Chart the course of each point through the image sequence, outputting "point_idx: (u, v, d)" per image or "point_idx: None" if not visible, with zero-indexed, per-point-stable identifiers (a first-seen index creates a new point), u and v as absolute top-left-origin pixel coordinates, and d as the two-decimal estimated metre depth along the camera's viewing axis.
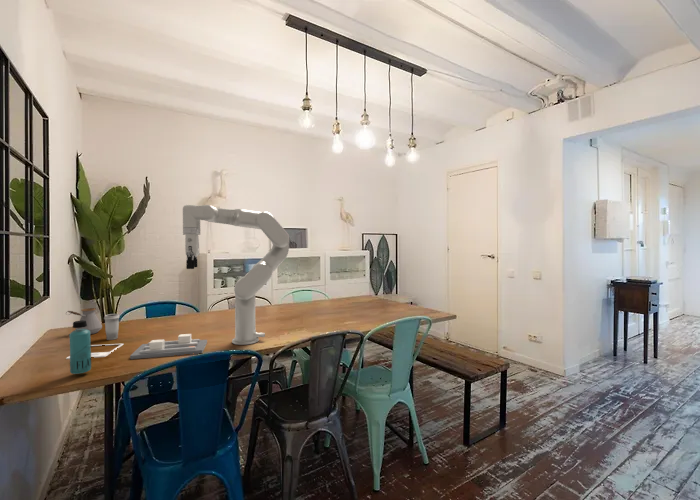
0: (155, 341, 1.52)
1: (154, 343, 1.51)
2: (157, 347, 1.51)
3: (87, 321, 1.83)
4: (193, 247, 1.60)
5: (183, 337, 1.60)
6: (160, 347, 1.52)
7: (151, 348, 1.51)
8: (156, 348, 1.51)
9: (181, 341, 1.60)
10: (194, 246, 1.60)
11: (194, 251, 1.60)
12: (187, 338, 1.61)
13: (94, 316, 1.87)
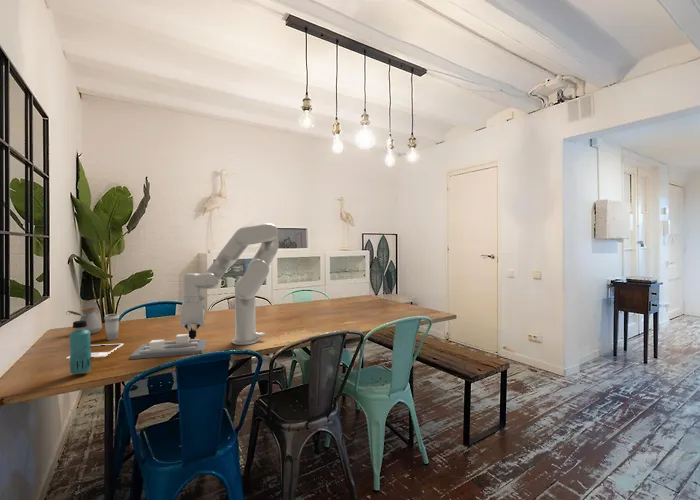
0: (155, 341, 1.52)
1: (154, 343, 1.51)
2: (157, 347, 1.51)
3: (87, 321, 1.83)
4: (204, 314, 1.66)
5: (181, 337, 1.60)
6: (160, 347, 1.52)
7: (151, 348, 1.51)
8: (156, 348, 1.51)
9: (179, 341, 1.60)
10: (204, 312, 1.66)
11: (204, 317, 1.66)
12: (185, 338, 1.61)
13: (94, 316, 1.87)
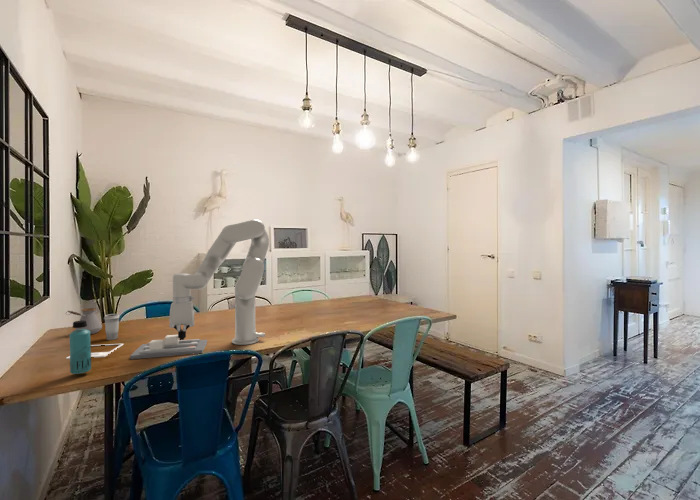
0: (155, 341, 1.52)
1: (154, 343, 1.51)
2: (157, 347, 1.51)
3: (87, 321, 1.83)
4: None
5: (170, 338, 1.59)
6: (160, 347, 1.52)
7: (151, 348, 1.51)
8: (156, 348, 1.51)
9: (168, 342, 1.59)
10: None
11: None
12: (174, 339, 1.59)
13: (94, 316, 1.87)
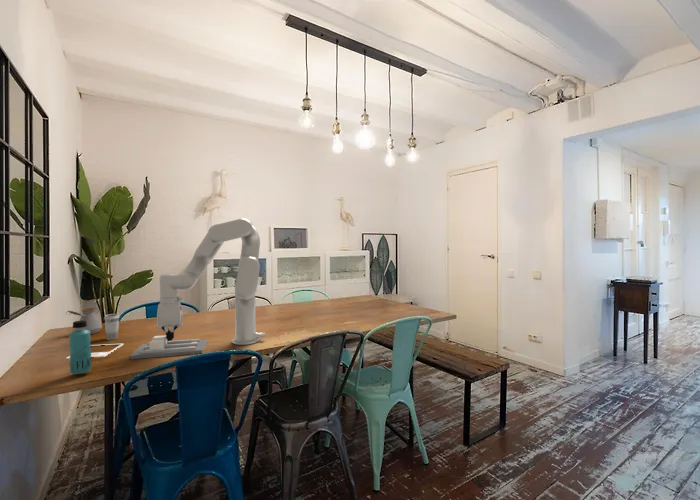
0: (155, 341, 1.52)
1: (154, 343, 1.51)
2: (157, 347, 1.51)
3: (87, 321, 1.83)
4: None
5: (158, 339, 1.58)
6: (160, 347, 1.52)
7: (151, 348, 1.51)
8: (156, 348, 1.51)
9: None
10: None
11: (182, 319, 1.64)
12: None
13: (94, 316, 1.87)
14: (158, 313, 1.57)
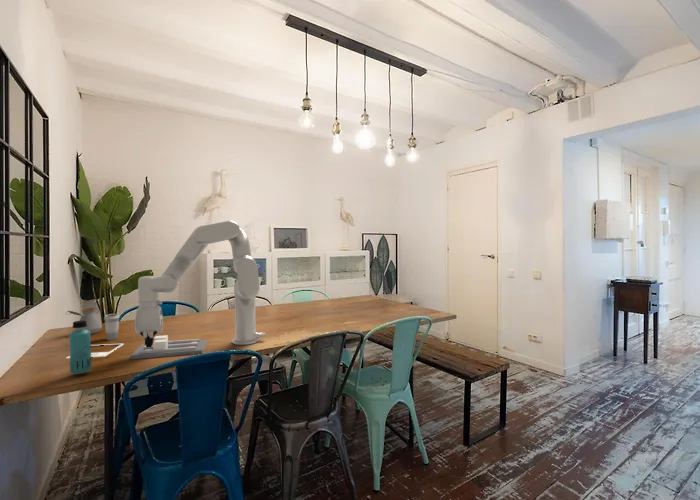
0: (158, 341, 1.53)
1: (157, 343, 1.51)
2: (160, 347, 1.52)
3: (87, 321, 1.83)
4: (162, 319, 1.55)
5: (159, 339, 1.58)
6: (163, 347, 1.52)
7: (154, 348, 1.51)
8: (159, 348, 1.52)
9: None
10: (162, 318, 1.55)
11: (162, 323, 1.55)
12: None
13: (94, 316, 1.87)
14: (136, 318, 1.49)
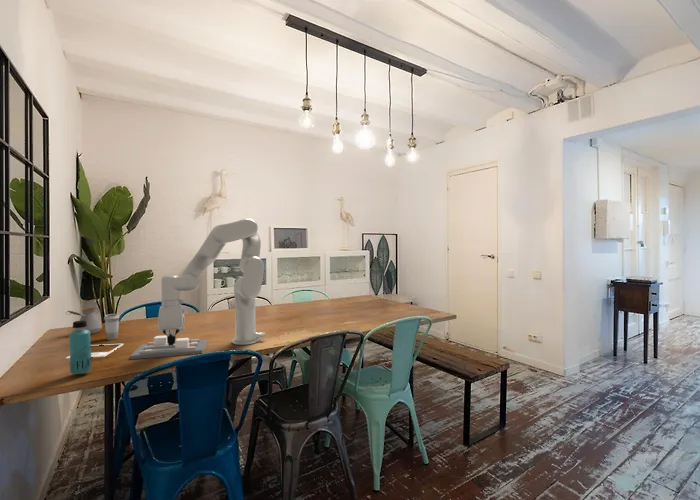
0: (180, 339, 1.55)
1: (180, 341, 1.54)
2: (182, 345, 1.54)
3: (87, 321, 1.83)
4: None
5: (159, 339, 1.58)
6: (185, 345, 1.54)
7: (177, 346, 1.53)
8: (181, 346, 1.54)
9: (157, 343, 1.58)
10: None
11: (184, 322, 1.58)
12: (163, 339, 1.58)
13: (94, 316, 1.87)
14: (159, 316, 1.51)
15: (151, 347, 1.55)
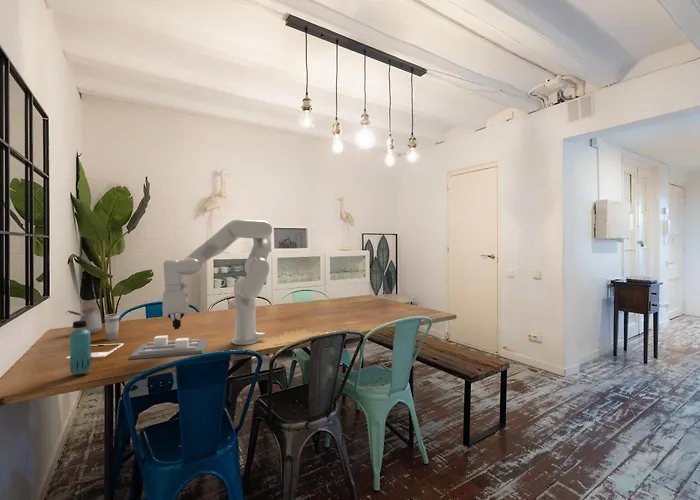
0: (180, 339, 1.55)
1: (179, 341, 1.54)
2: (182, 345, 1.54)
3: (87, 321, 1.83)
4: (188, 302, 1.58)
5: (159, 339, 1.58)
6: (185, 345, 1.54)
7: (177, 346, 1.53)
8: (181, 346, 1.54)
9: (157, 343, 1.58)
10: None
11: (188, 306, 1.58)
12: (163, 339, 1.58)
13: (94, 316, 1.87)
14: (163, 301, 1.52)
15: (151, 347, 1.55)
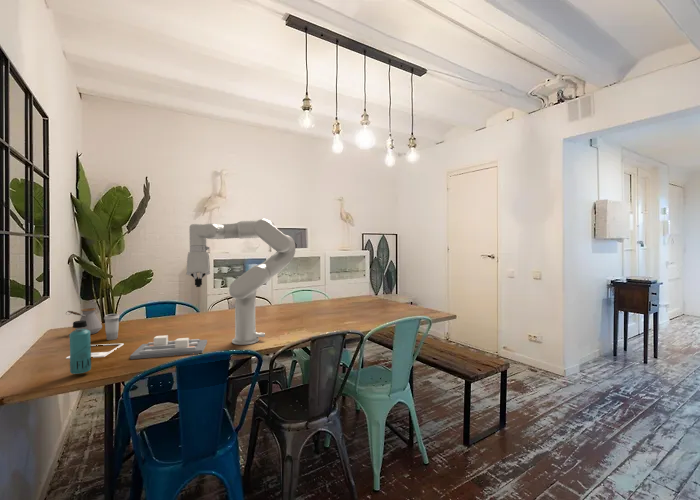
0: (180, 339, 1.55)
1: (179, 341, 1.54)
2: (182, 345, 1.54)
3: (87, 321, 1.83)
4: (209, 263, 1.73)
5: (159, 339, 1.58)
6: (185, 345, 1.54)
7: (177, 346, 1.53)
8: (181, 346, 1.54)
9: (157, 343, 1.58)
10: (209, 262, 1.74)
11: (209, 267, 1.74)
12: (163, 339, 1.58)
13: (94, 316, 1.87)
14: (188, 260, 1.67)
15: (151, 347, 1.55)
